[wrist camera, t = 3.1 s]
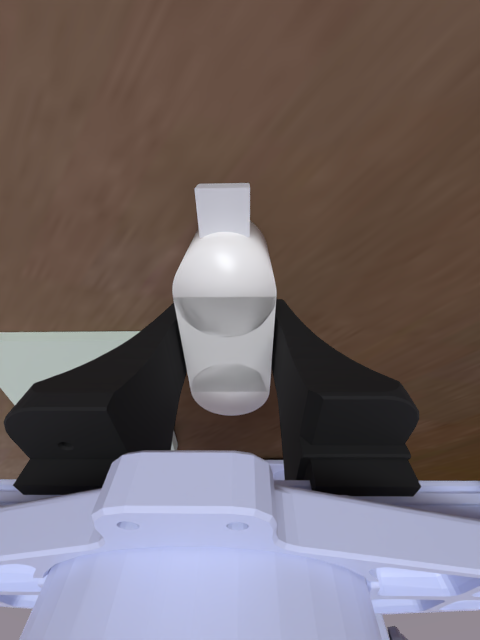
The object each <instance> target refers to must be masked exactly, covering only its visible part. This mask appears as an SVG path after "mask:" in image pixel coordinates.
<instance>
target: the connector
mask: <svg viewBox="0 0 480 640" xmlns="http://www.w3.org/2000/svg"><path fill="white" fill-rule="evenodd" d="M195 198H196V207H197V216H198V226H199V229H198V231H197V232H196V234H195V236H194V238H193V240H192V242H191V244H190V246H189V248H188V250H187V252H186V254H185V256H184V258H183V260H182V262H181V264H180V266H179V268H178V270H177V272H176V275H175V277H174V281H173V289H172V292H173V300H174V305H175V310H176V315H177V321H178V326H179V331H180V337H181V342H182V347H183V352H184V358H185V363H186V368H187V373H188V379H189V384H190V389H191V393H192V396H193V398H194V400H195V401H196V402H197V403H198V404H199V405H200V406H201V407H203V408H204V409H206V410H208V411H210V412H213V413H216V414H220V415H229V416H234V415H243V414H247V413H250V412H252V411H255V410H256V409H258V408H260V407H261V406H262V405H263V404H264V403H265V402H266V400H267V399H268V396H269V392H270V378H271V365H272V351H273V337H274V323H275V309H276V285H275V280H274V275H273V271H272V266H271V261H270V257H269V252H268V248H267V243H266V240H265V238H264V235H263V234H262V232H261V231H260V229H259V228H258V227H257V226H256V225H255V224H254V223H252V222H251V221H250V184H249V183H221V184H198V185H197V186H196V187H195Z"/></svg>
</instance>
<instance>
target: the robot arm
mask: <svg viewBox="0 0 480 640" xmlns="http://www.w3.org/2000/svg"><path fill="white" fill-rule="evenodd" d="M271 366H272V371H273V376H274V381H275V386H276V391H277V397H278V405H279V416H280V427H281V438H282V450H283V460H264V459H262V458H260V457H258V456H256V455H254V454H253V453H247V452H240V451H215V450H171V446H172V438H173V432H174V426H175V420H176V414H177V408H178V402H179V398H180V394H181V390H182V386H183V383H184V379H185V376H186V373H187V368H186V363H185V358H184V352H183V347H182V342H181V337H180V331H179V326H178V321H177V315H176V310H175V305H174V303H173V304H172V305H171V306H170V307H169V308H168V309H166V310H165V311H164V312H163V313H162V314H161V315H160V316H159V317H157V318H156V319H155V320H154V321H153V322H152V323H150V324H149V325H148V326H147V327H145V328H144V329H143V330H141V331H140V332H139V333H138V334H136V335H135V336H133V337H132V338H131V339H129V340H128V341H126V342H124V343H123V344H121V345H120V346H118V347H116V348H115V349H113V350H111V351H109V352H107V353H105V354H103V355H102V356H100V357H98V358H96V359H94V360H92V361H90V362H87V363H85V364H83V365H81V366H78V367H76V368H74V369H72V370H69V371H67V372H64V373H61V374H59V375H56V376H53V377H50V378H48V379H45V380H42V381H39V382H36V383H34V384H33V385H32V386H31V387H30V388H29V390H28V391H27V392H26V393H25V394H24V395H23V397H22V398H21V399H20V400H19V401H18V403H17V404H16V405H15V406H14V407H13V408H12V410H11V411H10V412H9V413H8V414H7V416H6V418H5V420H4V425H5V430H6V432H7V433H8V435H9V436H10V438H11V439H12V440H13V441H14V442H15V443H16V444H17V445H18V446H19V447H20V448H21V450H22V451H23V452H24V453H25V454H26V455H27V456H28V457H29V458H30V460H29V462H28V463H27V465H26V466H25V468H24V469H23V471H22V472H21V474H20V475H19V477H18V478H17V479H0V607H14V608H29V609H33V610H32V612H31V614H30V616H29V618H28V621H27V623H26V625H25V628H24V630H23V632H22V634H21V637H20V639H19V640H389V637H390V640H408V639H407V638H405V637H404V636H403V635H402V634H400V632H399V630H398V629H397V627H395V626H392V627H387V628H388V633H389V637H388V633H387V630H386V626H385V623H384V619H383V616H382V614H401V613H402V614H403V613H424V612H449V611H474V610H480V481H418V479H417V477H416V475H415V473H414V471H413V469H412V467H411V465H410V463H409V461H408V459H410V458H411V455H410V452H409V450H408V448H407V446H406V445H405V443H406V441H407V440H408V438H409V436H410V435H411V433H412V432H413V430H414V429H415V427H416V425H417V422H418V420H419V411H418V409H417V407H416V406H415V404H414V403H413V401H412V399H411V398H410V396H409V394H408V393H407V391H406V390H405V389H404V387H403V386H402V385H401V383H400V382H399V381H397V380H394V379H392V378H389V377H387V376H385V375H382V374H380V373H378V372H375V371H373V370H371V369H369V368H367V367H365V366H363V365H361V364H359V363H357V362H355V361H353V360H351V359H350V358H348V357H346V356H345V355H343V354H341V353H340V352H338V351H337V350H335V349H334V348H332V347H331V346H329V345H328V344H327V343H325V342H324V341H323V340H321V339H320V338H319V337H317V336H316V335H315V334H314V333H313V332H312V331H311V330H310V329H308V328H307V327H306V326H305V325H304V324H303V322H302V321H301V320H300V319H299V318H298V317H297V316H296V315H295V314H294V313H293V311H292V310H291V309H290V308H289V307H288V305H287V304H286V303H285V302H284V301H283V300H282V299H276V309H275V323H274V337H273V351H272V365H271Z"/></svg>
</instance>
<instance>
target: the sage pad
mask: <svg viewBox="0 0 480 640" xmlns="http://www.w3.org/2000/svg"><path fill="white" fill-rule="evenodd" d="M139 332H140V331H119V332H0V388H1V389H2V390H3V391H4V393H5V394H6V395H7V396H8V398H9V399H10V400H11V401H12V402H13V404H14V405H16V404H17V403H18V401H19V400H20V399H21V398H22V397H23V395H24V394H25V393H26V392H27V391H28V390H29V388H30V387H31V386H32V385H33V384H34V383H36V382H39V381H42V380H45V379H48V378H50V377H53V376H56V375H59V374H61V373H64V372H67V371H69V370H72V369H74V368H76V367H78V366H81V365H83V364H85V363H87V362H90V361H92V360H94V359H96V358H98V357H100V356H102V355H103V354H105V353H107V352H109V351H111V350H113V349H115V348H116V347H118V346H120V345H121V344H123V343H124V342H126V341H128V340H129V339H131V338H132V337H133V336H135V335H136V334H138V333H139ZM177 447H178V443H177V440H176V436H175V433H174V432H173V438H172V446H171V450H177Z"/></svg>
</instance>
